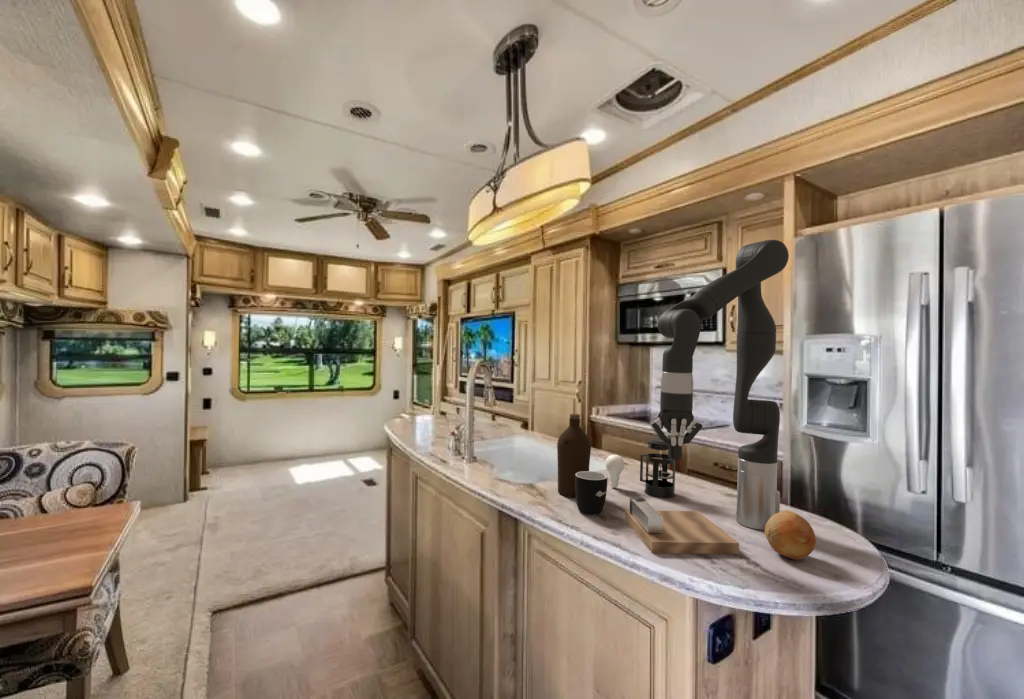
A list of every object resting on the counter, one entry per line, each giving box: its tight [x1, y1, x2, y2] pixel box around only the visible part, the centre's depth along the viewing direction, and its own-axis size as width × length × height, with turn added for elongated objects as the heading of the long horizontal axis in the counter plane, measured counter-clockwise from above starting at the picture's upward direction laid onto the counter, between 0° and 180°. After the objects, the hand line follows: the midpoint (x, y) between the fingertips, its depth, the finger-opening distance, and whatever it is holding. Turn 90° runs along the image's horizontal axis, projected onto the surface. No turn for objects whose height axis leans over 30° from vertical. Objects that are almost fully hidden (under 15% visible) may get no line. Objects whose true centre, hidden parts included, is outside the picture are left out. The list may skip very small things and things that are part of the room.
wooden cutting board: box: [624, 509, 740, 555], centre depth 109 cm, size 20×20×2 cm
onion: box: [764, 509, 817, 561], centre depth 99 cm, size 10×10×10 cm
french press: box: [639, 423, 676, 499], centre depth 143 cm, size 12×9×23 cm
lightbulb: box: [605, 454, 625, 489], centre depth 147 cm, size 6×6×11 cm
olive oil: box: [556, 413, 592, 498], centre depth 140 cm, size 11×11×25 cm
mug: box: [575, 470, 608, 516], centre depth 125 cm, size 12×9×10 cm
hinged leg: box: [628, 496, 663, 533], centre depth 111 cm, size 15×4×4 cm, turn 2°
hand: (674, 459), depth 109 cm, fingers closed
